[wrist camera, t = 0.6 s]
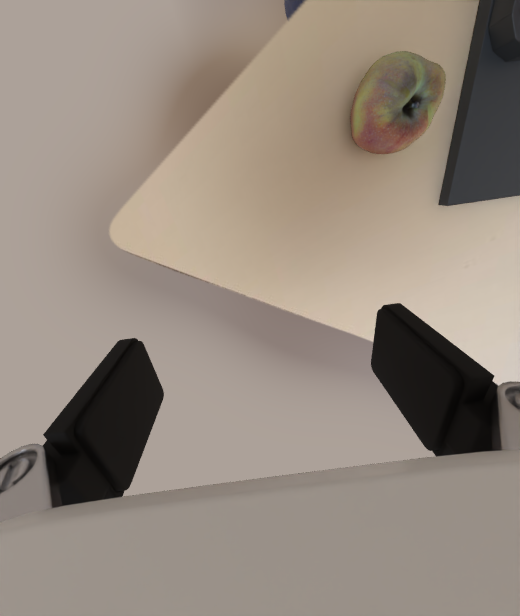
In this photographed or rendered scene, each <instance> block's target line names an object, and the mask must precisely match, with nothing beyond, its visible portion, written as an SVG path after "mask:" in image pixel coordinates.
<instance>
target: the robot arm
mask: <svg viewBox="0 0 520 616" xmlns="http://www.w3.org/2000/svg"><path fill="white" fill-rule="evenodd" d="M371 367H372V370H373V372H374V373H375V375H376V376H377V378H378V379H379V380H380V382H381V383H382V385H383V386H384V388H385V389H386V391H387V392H388V394H389V395H390V396H391V398H392V400H393V401H394V402H395V404H396V405H397V407H398V408H399V410H400V411H401V413H402V414H403V415H404V417H405V418H406V420H407V421H408V423H409V424H410V426H411V427H412V429H413V430H414V432H415V433H416V434H417V436H418V437H419V439H420V440H421V442H422V443H423V445H424V446H425V447H426V448H427V449H428V450H430V451H433V453H434V454H435V455H436V457H427V458H418V459H410V460H403V461H394V462H386V463H378V464H370V465H362V466H354V467H346V468H337V469H329V470H322V471H314V472H306V473H298V474H291V475H282V476H275V477H267V478H259V479H252V480H245V481H236V482H229V483H221V484H213V485H206V486H198V487H191V488H184V489H176V490H169V491H162V492H154V493H147V494H140V495H132V496H124V497H122V496H123V493H124V491H125V490H127V489H128V488H129V487H130V484H131V482H132V479H133V477H134V474H135V472H136V469H137V467H138V464H139V461H140V458H141V456H142V453H143V451H144V448H145V445H146V443H147V440H148V437H149V435H150V432H151V429H152V427H153V424H154V422H155V419H156V416H157V414H158V411H159V408H160V406H161V403H162V400H163V396H164V393H163V389H162V386H161V384H160V382H159V379H158V377H157V374H156V372H155V370H154V368H153V365H152V363H151V360H150V358H149V356H148V353H147V351H146V349H145V347H144V344H143V343H142V342H141V341H138V340H137V339H135V338H132V339H124V340H120V341H118V342H117V343H116V345H115V346H114V347H113V348H112V350H111V351H110V352H109V353H108V355H107V356H106V357H105V358H104V360H103V361H102V362H101V363H100V364H99V366H98V367H97V368H96V369H95V371H94V372H93V373H92V375H91V376H90V377H89V378H88V379H87V381H86V382H85V383H84V385H83V386H82V387H81V388H80V389H79V391H78V392H77V393H76V394H75V396H74V397H73V399H71V401H70V402H69V403H68V404H67V406H66V407H65V408H64V409H63V411H62V412H61V413H60V415H59V416H58V417H57V418H56V419H55V421H54V422H53V423H52V424H51V426H50V427H49V428H48V430H47V431H46V432H45V433H44V434H43V435H44V436H45V438H46V439H47V441H46V442H45V444H44V445H43V446H41V445H39V444H29V445H26V446H23V447H20V448H18V449H16V450H13V451H11V452H10V453H8V454H7V455H5V456H4V457H2V458H0V616H520V382H506V383H502V384H501V385H499V386H498V385H497V384H495V383H494V382H493V381H492V380H493V378H494V375H493V374H491V373H490V372H489V371H487V370H486V369H485V368H483V367H482V366H481V365H480V364H478V363H477V362H476V361H474V360H473V359H472V358H470V357H469V356H468V355H467V354H465V353H464V352H463V351H461V350H460V349H459V348H458V347H456V346H455V345H454V344H452V343H451V342H450V341H448V340H447V339H446V338H445V337H443V336H442V335H441V334H439V333H438V332H437V331H435V330H434V329H433V328H432V327H430V326H429V325H428V324H426V323H425V322H424V321H422V320H421V319H420V318H419V317H417V316H416V315H415V314H413V313H412V312H411V311H409V310H408V309H407V308H406V307H404V306H403V305H402V304H400V303H397V304H389V305H384V306H382V308H381V309H379V310H378V312H377V319H376V327H375V335H374V343H373V351H372V359H371Z"/></svg>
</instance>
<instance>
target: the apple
mask: <svg viewBox="0 0 520 616" xmlns="http://www.w3.org/2000/svg"><path fill="white" fill-rule="evenodd" d="M445 80H446V77H445V72H444V70H443V68H442V67H441V66H440V65H438V64H436V63H434V62H431V61H429V60H427V59H425V58H423V57H422V56H420V55H417V54H414V53H411V52H406V51H400V52H395V53H391V54H389V55H386V56H383V57H382V58H380V59H379V60H377V61H376V62H375V63H374V64H373V65H372V66H371V68H370V69H369V70H368V72H367V73H366V75H365V76H364V78H363V80H362V81H361V83H360V85H359V87H358V89H357V91H356V94H355V97H354V101H353V105H352V109H351V116H350V122H351V131H352V138H353V140H354V141H355V142H356V144H357V145H358V146H359V147H361V148H362V149H364V150H367V151H369V152H372V153H376V154H388V153H394V152H397V151H400V150H402V149H404V148H406V147H407V146H409V145H410V144H411V143H412V142H413V141H415V140H416V139H417V138H419V137H420V136H421V135H422V134H423V133H424V132H425V131H426V130H427V129H428V127H429V125H430V123H431V121H432V119H433V116H434V114H435V112H436V111H437V109H438V107H439V104H440V102H441V100H442V97H443V93H444V88H445Z"/></svg>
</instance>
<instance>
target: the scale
mask: <svg viewBox="0 0 520 616" xmlns="http://www.w3.org/2000/svg"><path fill="white" fill-rule="evenodd" d="M519 195H520V0H480V3H479V8H478V13H477V18H476V23H475V28H474V33H473V38H472V43H471V47H470V52H469V57H468V62H467V67H466V72H465V77H464V82H463V87H462V92H461V97H460V102H459V107H458V112H457V117H456V122H455V127H454V132H453V137H452V142H451V147H450V152H449V156H448V161H447V166H446V171H445V176H444V181H443V186H442V191H441V196H440V201H439V205H445V206H449V205H456V204H463V203H470V202H477V201H484V200H491V199H498V198H505V197H512V196H519Z"/></svg>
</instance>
